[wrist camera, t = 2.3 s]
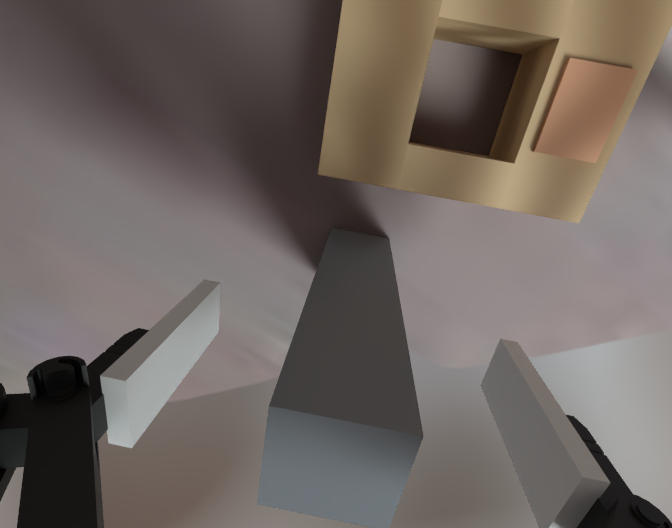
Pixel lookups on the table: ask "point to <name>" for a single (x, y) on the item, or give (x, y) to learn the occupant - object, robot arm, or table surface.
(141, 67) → the table surface
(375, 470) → the plug
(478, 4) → the port block
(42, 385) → the robot arm
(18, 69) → the table surface
